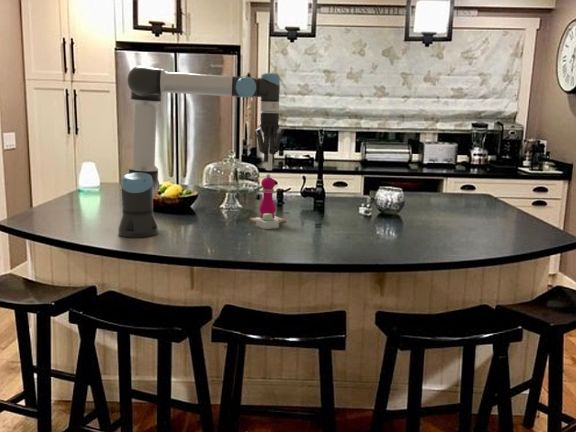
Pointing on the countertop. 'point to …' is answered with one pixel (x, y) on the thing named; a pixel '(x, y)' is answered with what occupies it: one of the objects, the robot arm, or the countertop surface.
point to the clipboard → (274, 218)
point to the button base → (267, 223)
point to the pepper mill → (267, 196)
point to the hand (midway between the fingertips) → (268, 169)
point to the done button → (267, 217)
